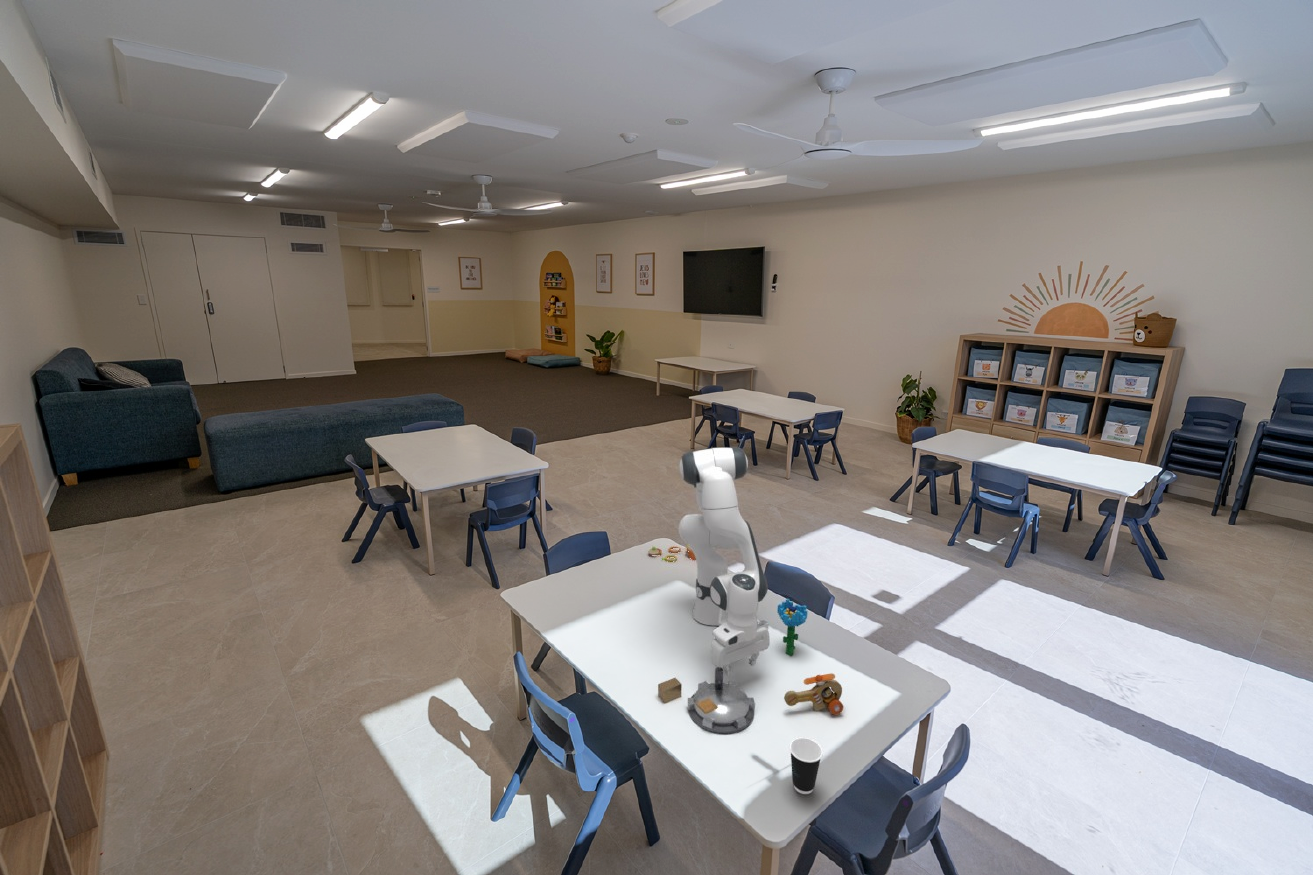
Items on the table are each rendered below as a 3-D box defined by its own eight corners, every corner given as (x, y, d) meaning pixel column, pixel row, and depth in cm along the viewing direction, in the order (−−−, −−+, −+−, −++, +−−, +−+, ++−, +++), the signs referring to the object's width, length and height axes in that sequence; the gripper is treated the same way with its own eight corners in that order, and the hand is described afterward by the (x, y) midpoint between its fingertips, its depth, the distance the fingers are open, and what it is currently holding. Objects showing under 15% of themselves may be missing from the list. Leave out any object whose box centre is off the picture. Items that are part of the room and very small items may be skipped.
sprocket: (725, 678, 180) (726, 655, 178) (766, 715, 164) (768, 690, 162) (676, 697, 171) (677, 674, 169) (715, 739, 155) (716, 713, 153)
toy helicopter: (845, 713, 167) (849, 678, 164) (789, 722, 163) (791, 686, 160) (833, 697, 173) (836, 663, 170) (779, 706, 170) (781, 671, 167)
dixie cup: (781, 787, 141) (783, 749, 139) (796, 768, 147) (799, 732, 144) (810, 805, 136) (813, 766, 134) (825, 785, 142) (828, 748, 139)
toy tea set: (697, 549, 276) (697, 531, 274) (710, 563, 262) (710, 544, 259) (645, 557, 268) (645, 537, 266) (655, 571, 254) (655, 551, 252)
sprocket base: (726, 681, 180) (727, 678, 180) (767, 718, 164) (767, 715, 164) (675, 702, 171) (675, 699, 171) (713, 743, 155) (713, 740, 155)
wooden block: (675, 691, 176) (675, 677, 175) (681, 698, 173) (681, 683, 172) (658, 698, 173) (658, 683, 172) (664, 705, 170) (664, 690, 169)
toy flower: (784, 642, 201) (787, 595, 197) (808, 653, 195) (811, 604, 191) (770, 654, 194) (773, 605, 190) (794, 665, 189) (798, 615, 184)
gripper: (761, 614, 180) (759, 653, 184) (708, 632, 170) (707, 673, 173) (775, 623, 175) (773, 663, 178) (721, 643, 165) (719, 685, 168)
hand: (740, 668), depth 176 cm, fingers open, 8 cm apart
